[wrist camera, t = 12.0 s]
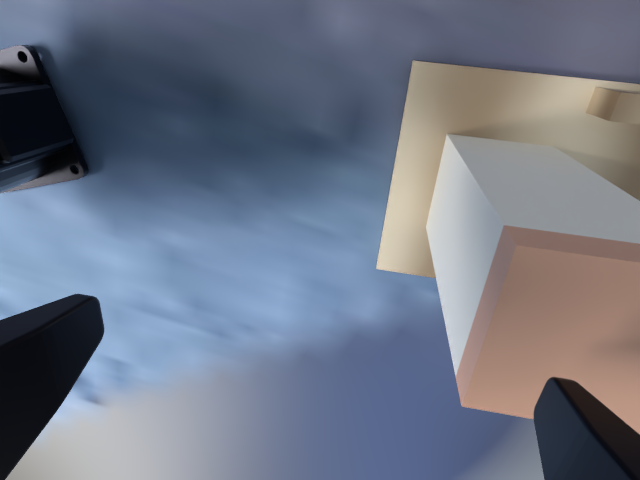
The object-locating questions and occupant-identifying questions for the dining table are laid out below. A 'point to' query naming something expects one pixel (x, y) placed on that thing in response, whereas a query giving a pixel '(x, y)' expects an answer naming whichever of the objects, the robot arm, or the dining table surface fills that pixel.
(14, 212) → the dining table surface
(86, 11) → the dining table surface
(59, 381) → the robot arm
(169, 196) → the dining table surface
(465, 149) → the block
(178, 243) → the dining table surface
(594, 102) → the tray
